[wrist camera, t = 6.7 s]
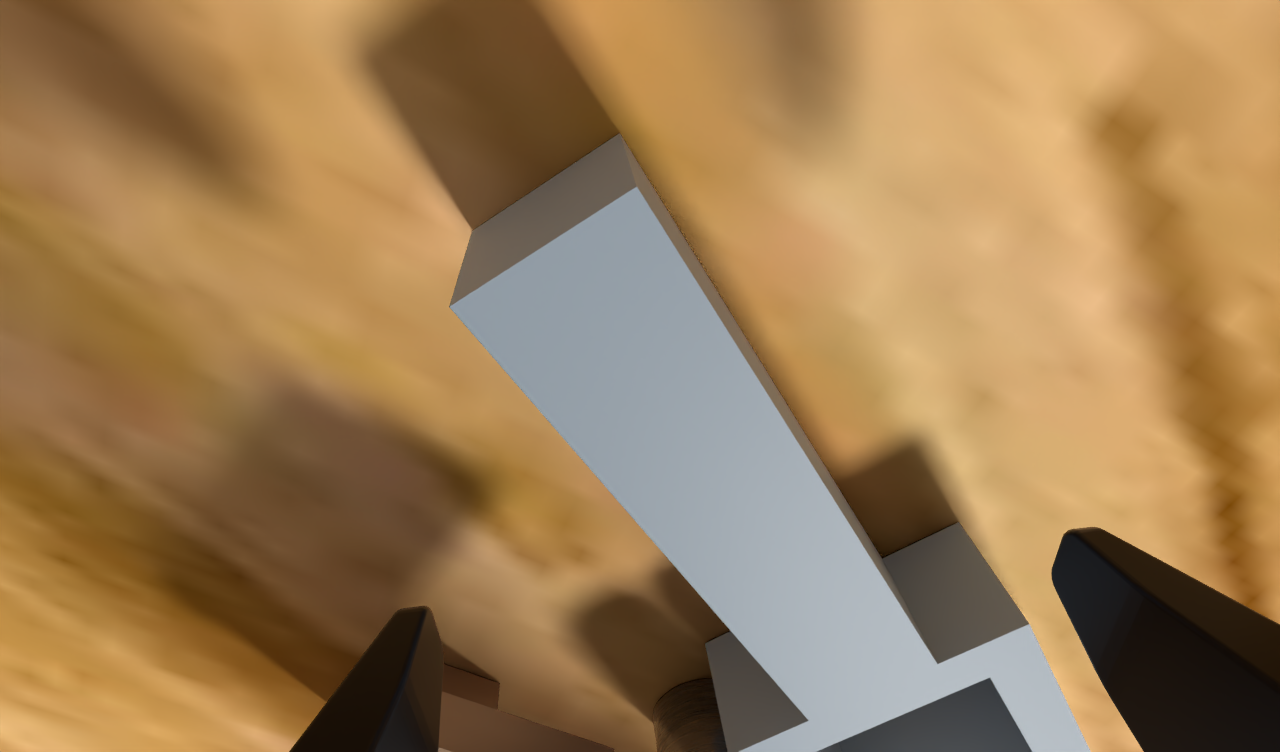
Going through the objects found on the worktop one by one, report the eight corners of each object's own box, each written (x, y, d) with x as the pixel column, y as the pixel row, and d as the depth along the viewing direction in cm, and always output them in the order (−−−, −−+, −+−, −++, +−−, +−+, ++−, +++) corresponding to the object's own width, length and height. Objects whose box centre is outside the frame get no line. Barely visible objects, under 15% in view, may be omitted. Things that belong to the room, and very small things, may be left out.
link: (1032, 669, 20) (1100, 772, 18) (813, 761, 22) (847, 870, 19) (726, 61, 11) (776, 97, 9) (381, 291, 13) (336, 378, 10)
